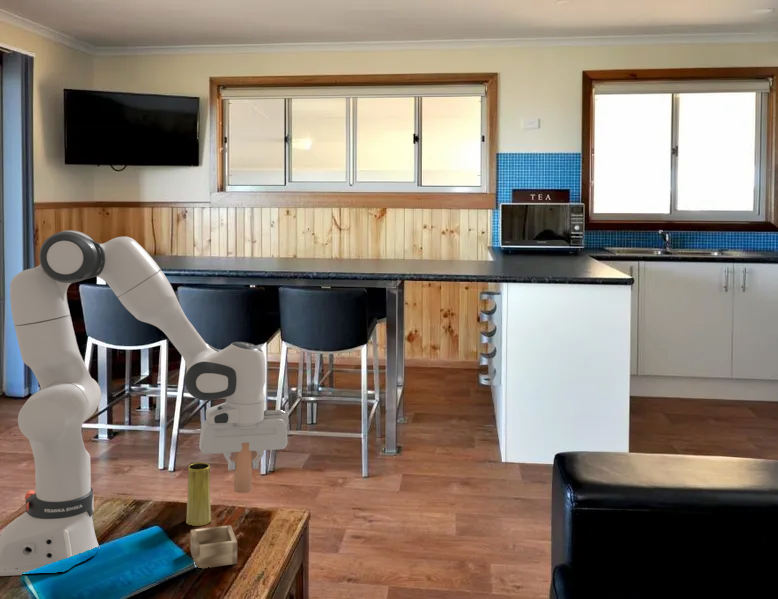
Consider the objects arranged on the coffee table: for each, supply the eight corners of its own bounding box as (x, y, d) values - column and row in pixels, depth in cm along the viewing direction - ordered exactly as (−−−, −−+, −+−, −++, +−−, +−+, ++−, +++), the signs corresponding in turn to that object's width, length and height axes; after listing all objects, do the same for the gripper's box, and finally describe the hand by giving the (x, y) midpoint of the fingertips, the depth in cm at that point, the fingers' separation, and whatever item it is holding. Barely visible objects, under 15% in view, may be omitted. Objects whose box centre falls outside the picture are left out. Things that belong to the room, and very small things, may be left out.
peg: (235, 493, 167) (236, 443, 165) (232, 487, 170) (234, 438, 169) (252, 492, 168) (254, 442, 167) (249, 485, 172) (251, 437, 171)
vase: (204, 527, 175) (205, 471, 173) (181, 524, 176) (181, 468, 175) (215, 517, 181) (216, 463, 179) (192, 514, 182) (193, 460, 181)
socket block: (194, 569, 155) (195, 547, 154) (190, 550, 163) (190, 529, 162) (237, 563, 158) (237, 542, 157) (230, 545, 166) (230, 525, 166)
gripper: (285, 406, 174) (283, 461, 175) (199, 409, 166) (197, 467, 168) (291, 413, 168) (289, 469, 170) (202, 417, 161) (200, 477, 162)
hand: (243, 468), depth 169 cm, fingers closed on peg, 4 cm apart
